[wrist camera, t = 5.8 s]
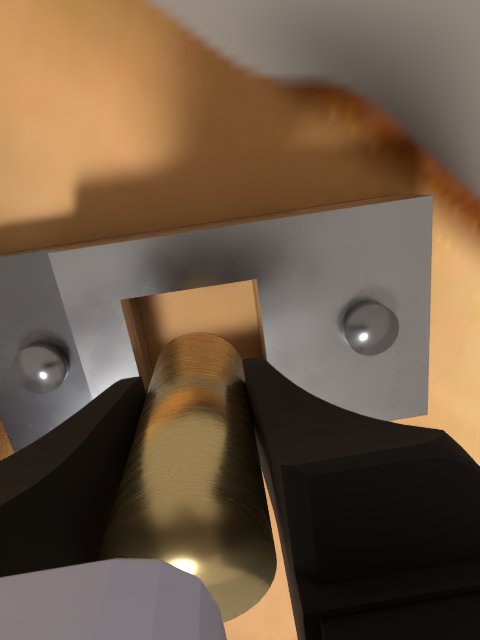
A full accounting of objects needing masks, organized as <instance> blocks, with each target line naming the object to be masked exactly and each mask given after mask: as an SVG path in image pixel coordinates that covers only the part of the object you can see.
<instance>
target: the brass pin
mask: <svg viewBox="0 0 480 640" xmlns="http://www.w3.org/2000/svg"><path fill="white" fill-rule="evenodd" d="M114 558H136V559H161V560H163V561H165V562H167V563H169V564H171V565H173V566H176V567H178V568H180V569H182V570H184V571H186V572H188V573H190V574H193V575H195V576H196V577H198V578H199V579H201V580H202V582H203V583H204V585H205V586H206V588H207V590H208V591H209V593H210V594H211V596H212V597H213V599H214V600H215V602H216V603H217V605H218V606H219V608H220V612H221V616H222V621H223V623H224V622H227V621H229V620H232V619H234V618H236V617H238V616H240V615H241V614H243V613H245V612H246V611H248V610H249V609H251V608H252V607H253V606H254V605H255V604H257V603H258V602H259V601H260V600H261V599H262V597H263V596H264V595H265V594H266V592H267V591H268V589H269V588H270V586H271V584H272V582H273V580H274V577H275V573H276V566H277V559H276V551H275V545H274V540H273V534H272V528H271V522H270V516H269V511H268V505H267V499H266V493H265V488H264V482H263V476H262V470H261V465H260V459H259V453H258V447H257V441H256V436H255V430H254V424H253V418H252V414H251V409H250V405H249V401H248V395H247V389H246V383H245V377H244V370H243V363H242V359H241V357H240V355H239V353H238V352H237V350H236V349H235V348H234V347H233V346H232V345H231V344H230V343H229V342H227V341H226V340H225V339H223V338H221V337H219V336H216V335H213V334H209V333H190V334H186V335H183V336H180V337H178V338H176V339H174V340H173V341H172V342H170V343H169V344H168V345H167V346H166V347H165V348H164V349H163V350H162V352H161V353H160V355H159V357H158V359H157V362H156V365H155V369H154V372H153V375H152V379H151V382H150V385H149V389H148V392H147V395H146V399H145V402H144V405H143V409H142V412H141V416H140V419H139V422H138V426H137V429H136V432H135V436H134V439H133V442H132V446H131V449H130V453H129V456H128V459H127V463H126V466H125V469H124V473H123V476H122V479H121V483H120V486H119V490H118V493H117V496H116V500H115V503H114V506H113V510H112V513H111V516H110V520H109V523H108V526H107V530H106V533H105V537H104V540H103V543H102V547H101V550H100V553H99V558H98V561H102V560H108V559H114Z"/></svg>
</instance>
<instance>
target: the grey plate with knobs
mask: <svg viewBox="0 0 480 640" xmlns="http://www.w3.org/2000/svg"><path fill="white" fill-rule="evenodd" d="M432 216H433V195H411V194H399V195H392V196H386V197H379V198H373V199H366V200H359V201H353V202H346V203H339V204H333V205H326V206H319V207H313V208H306V209H299V210H293V211H286V212H279V213H273V214H266V215H260V216H253V217H246V218H240V219H233V220H226V221H220V222H213V223H206V224H200V225H193V226H186V227H180V228H173V229H166V230H160V231H153V232H146V233H140V234H133V235H127V236H120V237H113V238H107V239H100V240H93V241H87V242H80V243H73V244H67V245H60V246H53V247H47V248H40V249H33V250H27V251H20V252H14V253H7V254H0V418H1V420H2V423H3V425H4V428H5V430H6V433H7V435H8V438H9V440H10V443H11V445H12V448H13V450H14V453H16V452H18V451H19V450H21V449H23V448H24V447H26V446H28V445H29V444H31V443H33V442H34V441H36V440H38V439H39V438H41V437H42V436H44V435H45V434H47V433H48V432H50V431H51V430H53V429H54V428H55V427H57V426H58V425H60V424H61V423H62V422H64V421H65V420H67V419H68V418H69V417H71V416H72V415H73V414H75V413H76V412H78V411H79V410H80V409H81V408H83V407H84V406H85V405H87V404H88V403H89V402H90V401H92V400H93V399H94V398H96V397H97V396H98V395H99V394H101V393H102V392H103V391H104V390H106V389H107V388H108V387H110V386H111V385H113V384H114V383H115V382H117V381H119V380H120V379H125V378H132V377H138V376H142V380H143V384H144V388H145V392H146V395H147V392H148V389H149V385H150V382H151V379H152V375H153V372H154V371H153V367H152V363H151V359H150V354H149V350H148V346H147V342H146V338H145V333H144V329H143V325H142V321H141V317H140V313H139V308H138V304H137V300H136V297H142V296H148V295H155V294H161V293H168V292H174V291H181V290H187V289H194V288H200V287H207V286H213V285H220V284H226V283H233V282H239V281H246V280H252V282H253V290H254V297H255V305H256V312H257V320H258V327H259V335H260V342H261V350H262V357H263V358H264V359H266V360H267V361H268V362H269V363H270V364H271V365H272V366H273V367H274V368H275V369H277V370H278V371H279V372H280V373H281V374H283V375H284V376H285V377H286V378H288V379H289V380H290V381H292V382H293V383H294V384H296V385H298V386H299V387H301V388H302V389H304V390H306V391H307V392H309V393H311V394H313V395H314V396H316V397H318V398H320V399H323V400H325V401H327V402H329V403H331V404H333V405H336V406H338V407H341V408H343V409H346V410H349V411H352V412H355V413H358V414H361V415H365V416H368V417H372V418H375V419H380V420H384V421H392V420H398V419H404V418H410V417H416V416H423V415H427V414H428V375H429V335H430V295H431V256H432Z"/></svg>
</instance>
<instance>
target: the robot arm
mask: <svg viewBox="0 0 480 640" xmlns="http://www.w3.org/2000/svg"><path fill="white" fill-rule="evenodd" d="M242 363H243V370H244V377H245V383H246V389H247V395H248V401H249V405H250V409H251V414H252V418H253V424H254V430H255V436H256V441H257V447H258V453H259V459H260V464H261V468H262V472H263V475H264V479H265V482H266V485H267V489H268V492H269V496H270V499H271V503H272V506H273V510H274V514H275V518H276V522H277V527H278V532H279V538H280V543H281V549H282V554H283V559H284V565H285V570H286V576H287V581H288V587H289V592H290V598H291V603H292V609H293V615H294V620H295V626H296V631H297V637H298V640H480V466H479V465H478V464H477V463H476V462H475V461H474V460H473V458H472V457H471V456H470V455H469V454H468V453H467V452H466V451H465V450H464V449H463V448H462V447H461V446H460V445H459V444H458V443H457V442H456V441H455V440H454V439H452V438H451V437H450V436H449V435H448V434H447V433H446V432H445V431H444V430H439V429H431V428H424V427H417V426H410V425H403V424H398V423H393V422H389V421H384V420H380V419H375V418H372V417H368V416H365V415H361V414H358V413H355V412H352V411H349V410H346V409H343V408H341V407H338V406H336V405H333V404H331V403H329V402H327V401H325V400H323V399H320V398H318V397H316V396H314V395H313V394H311V393H309V392H307V391H306V390H304V389H302V388H301V387H299V386H298V385H296V384H294V383H293V382H292V381H290V380H289V379H288V378H286V377H285V376H284V375H283V374H281V373H280V372H279V371H278V370H277V369H275V368H274V367H273V366H272V365H271V364H270V363H269V362H268V361H267V360H266V359H264V358H263V357H259V358H253V359H246V360H242ZM145 399H146V392H145V388H144V384H143V380H142V376H138V377H132V378H125V379H120V380H119V381H117V382H115V383H114V384H113V385H111V386H110V387H108V388H107V389H106V390H104V391H103V392H102V393H101V394H99V395H98V396H97V397H96V398H94V399H93V400H92V401H90V402H89V403H88V404H87V405H85V406H84V407H83V408H81V409H80V410H79V411H78V412H76V413H75V414H73V415H72V416H71V417H69V418H68V419H67V420H65V421H64V422H62V423H61V424H60V425H58V426H57V427H55V428H54V429H53V430H51V431H50V432H48V433H47V434H45V435H44V436H42V437H41V438H39V439H38V440H36V441H34V442H33V443H31V444H29V445H28V446H26V447H24V448H23V449H21V450H19V451H18V452H16V453H14V454H12V455H11V456H9V457H7V458H5V459H3V460H1V461H0V640H227V638H226V634H225V629H224V625H223V621H222V616H221V612H220V608H219V606H218V605H217V603H216V602H215V600H214V599H213V597H212V596H211V594H210V593H209V591H208V590H207V588H206V586H205V585H204V583H203V582H202V580H201V579H199V578H198V577H196V576H195V575H193V574H190V573H188V572H186V571H184V570H182V569H180V568H178V567H176V566H173V565H171V564H169V563H167V562H165V561H163V560H161V559H136V558H114V559H108V560H102V561H98V558H99V553H100V550H101V547H102V543H103V540H104V537H105V533H106V530H107V526H108V523H109V520H110V516H111V513H112V510H113V506H114V503H115V500H116V496H117V493H118V490H119V486H120V483H121V479H122V476H123V473H124V469H125V466H126V463H127V459H128V456H129V453H130V449H131V446H132V442H133V439H134V436H135V432H136V429H137V426H138V422H139V419H140V416H141V412H142V409H143V405H144V402H145Z"/></svg>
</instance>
